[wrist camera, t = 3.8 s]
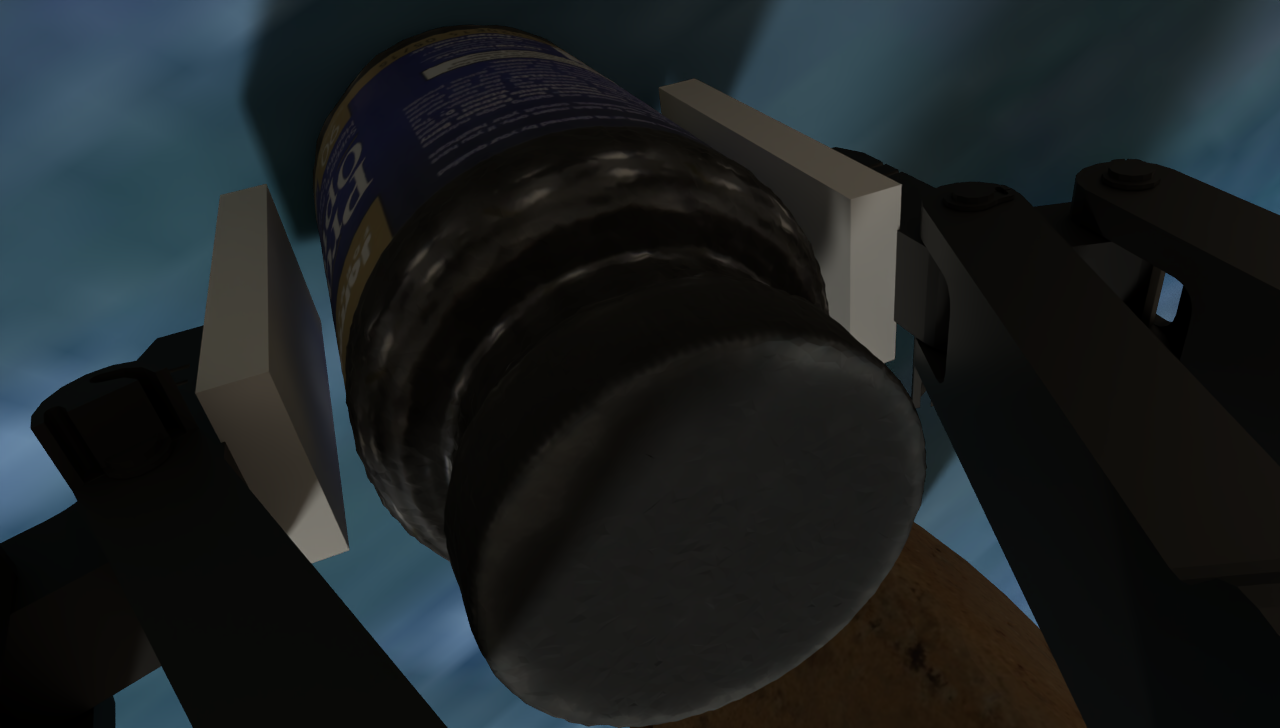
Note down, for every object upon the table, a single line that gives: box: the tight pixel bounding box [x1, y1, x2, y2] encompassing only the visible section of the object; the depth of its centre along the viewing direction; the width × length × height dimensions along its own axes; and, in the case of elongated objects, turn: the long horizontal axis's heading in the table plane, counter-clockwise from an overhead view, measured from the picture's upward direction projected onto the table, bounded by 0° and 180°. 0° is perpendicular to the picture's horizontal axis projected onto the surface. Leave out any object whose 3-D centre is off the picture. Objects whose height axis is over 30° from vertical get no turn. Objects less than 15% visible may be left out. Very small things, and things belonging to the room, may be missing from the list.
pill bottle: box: [313, 25, 927, 728], centre depth 12 cm, size 6×6×11 cm
